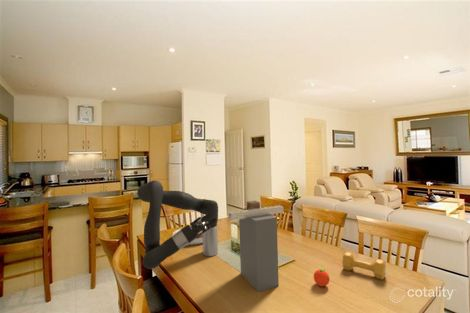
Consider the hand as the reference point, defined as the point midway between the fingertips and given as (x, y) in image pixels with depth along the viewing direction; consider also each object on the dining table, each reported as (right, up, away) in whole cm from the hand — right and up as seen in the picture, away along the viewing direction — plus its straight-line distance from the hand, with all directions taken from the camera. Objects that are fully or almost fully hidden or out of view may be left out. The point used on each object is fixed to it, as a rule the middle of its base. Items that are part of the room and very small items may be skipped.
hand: (212, 216), depth 119 cm
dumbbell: (+76, -29, +2) cm, 81 cm away
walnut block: (+20, +2, +4) cm, 21 cm away
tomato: (+52, -30, -7) cm, 60 cm away
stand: (+23, -31, -1) cm, 38 cm away
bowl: (-19, -31, +58) cm, 69 cm away
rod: (+22, +1, -4) cm, 22 cm away
